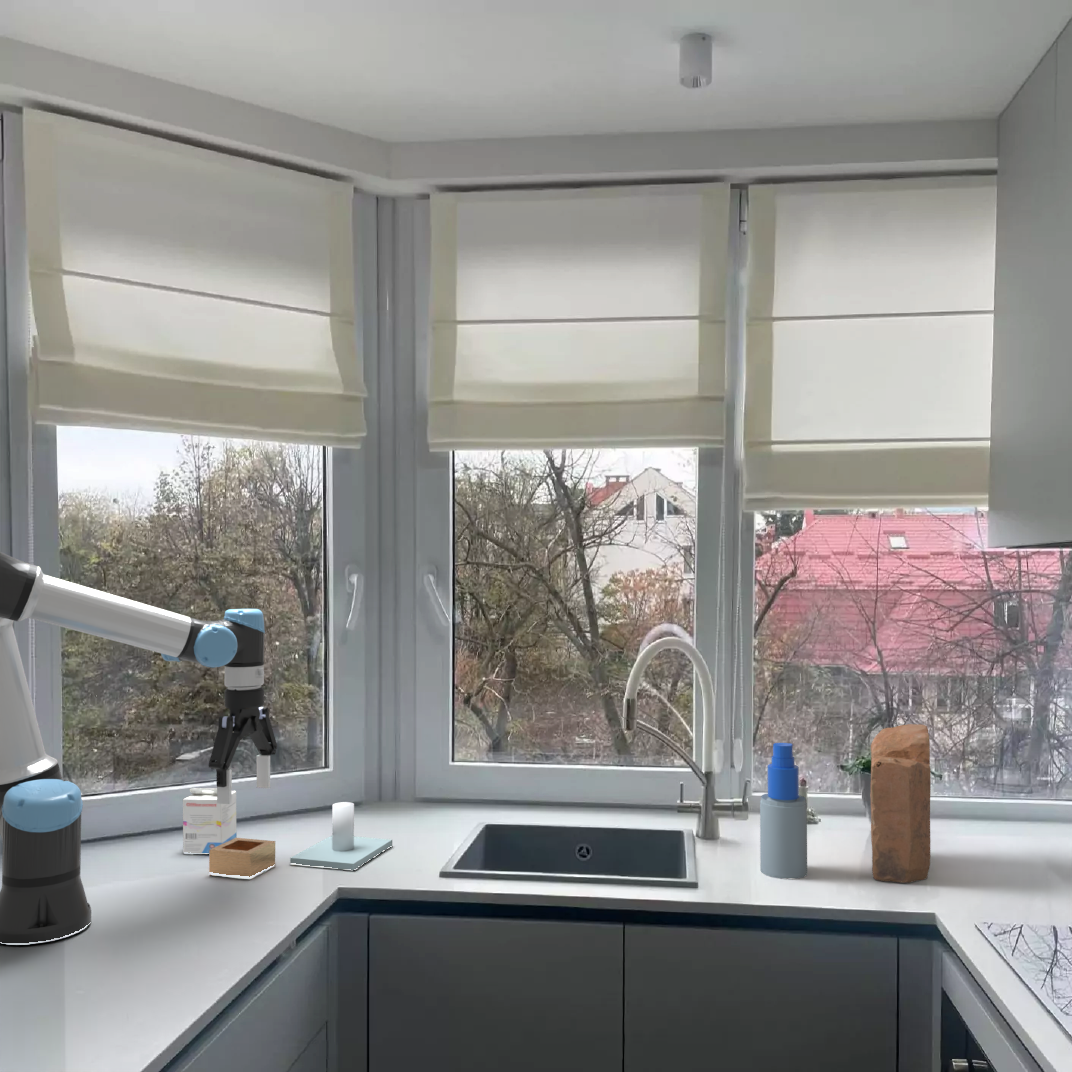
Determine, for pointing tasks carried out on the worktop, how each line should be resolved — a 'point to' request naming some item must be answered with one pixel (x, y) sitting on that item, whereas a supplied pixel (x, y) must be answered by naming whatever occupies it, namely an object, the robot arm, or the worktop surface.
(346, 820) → the post stand
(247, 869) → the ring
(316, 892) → the worktop surface
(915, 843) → the stone
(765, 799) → the spray bottle
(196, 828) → the ink box
